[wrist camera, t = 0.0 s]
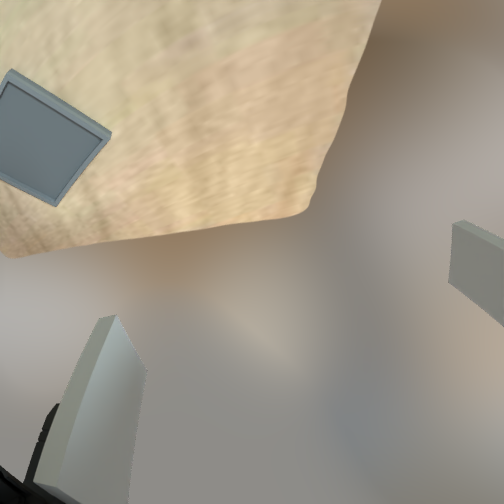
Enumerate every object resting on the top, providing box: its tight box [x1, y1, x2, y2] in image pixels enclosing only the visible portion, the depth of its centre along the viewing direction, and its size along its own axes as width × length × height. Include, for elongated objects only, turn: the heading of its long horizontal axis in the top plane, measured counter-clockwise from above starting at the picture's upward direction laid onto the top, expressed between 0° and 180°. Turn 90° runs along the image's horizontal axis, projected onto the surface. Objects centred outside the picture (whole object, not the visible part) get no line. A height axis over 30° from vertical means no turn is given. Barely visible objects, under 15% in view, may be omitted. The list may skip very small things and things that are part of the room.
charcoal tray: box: [0, 69, 112, 207], centre depth 33 cm, size 20×18×2 cm
